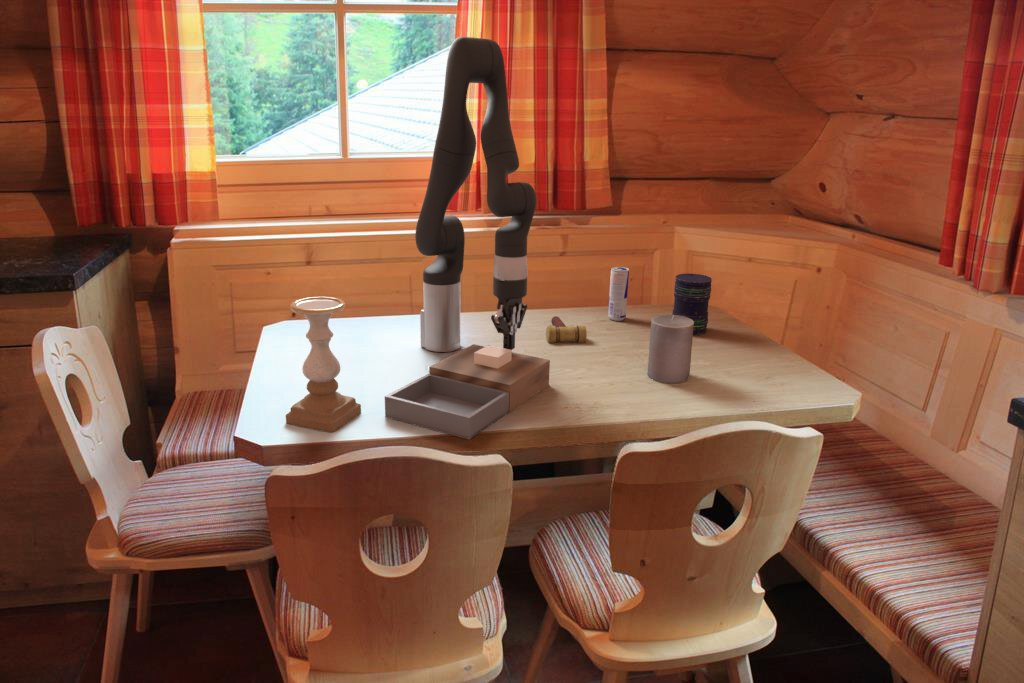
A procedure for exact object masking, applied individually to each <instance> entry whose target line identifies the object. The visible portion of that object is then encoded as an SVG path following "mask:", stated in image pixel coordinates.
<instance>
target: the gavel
mask: <svg viewBox="0 0 1024 683" xmlns="http://www.w3.org/2000/svg"><path fill="white" fill-rule="evenodd" d="M550 322H551V324H552V325H547V326H546V329H545V340H546V341H547V343H548V344H550V343H551V344H555V343H556V342H558V343H559V342H560V343H568V342H571V343H572V342H573V343H574V342H577V343H585V342H587V336H588V335H587V327H586V325H585V324H580V325H579V324H578V325H576V326H566V324H565V323H564V322H563V321H562V319H561V318H560V317H559V316H556V315H555V316H553V317H552V318H551V321H550Z"/></svg>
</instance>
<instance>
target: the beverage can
mask: <svg viewBox="0 0 1024 683" xmlns="http://www.w3.org/2000/svg"><path fill="white" fill-rule="evenodd" d="M610 269H611V270H610V276H609V277H610V278H609V279H610V280H609V295H608V298H609V299H608V310H607V311H608V312H607V317H608V318H609V319H610V320H611V321H616V322H620V321H624V319H625V318H626V317H627V307H628V306H627V303H628V289H629V276H630V272H629V271H630V268H628V267H624V266H613V267H611V268H610Z"/></svg>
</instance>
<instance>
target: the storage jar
mask: <svg viewBox="0 0 1024 683" xmlns="http://www.w3.org/2000/svg"><path fill="white" fill-rule="evenodd" d="M712 281H713V279H712V277H710V276H708V275H704V274H699V273H679V274H677V275H675V281H674V282H675V283H674V288H673V290H674V291H673V297H674V302H673V309H672V314H671V315H678V316H684V317H687V318H690V319H691V320H693V321H694V327H693V337H694V336H695V337H696V336H697V337H698V336H702V335H705V334H706V333H707V328H708V323H709V303H710V299H711V292H712Z"/></svg>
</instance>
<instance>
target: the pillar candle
mask: <svg viewBox="0 0 1024 683" xmlns="http://www.w3.org/2000/svg"><path fill="white" fill-rule="evenodd" d="M650 322H651V323H650V335H649V348H648V360H647V361H648V362H647V373H646V374H647V377H648V378H649V379H650V380H652V379H653V380H652V381H656V382H657V381H658V382H659V383H661V382H662V384H682V383H685V382H687V381H688V380H689V378H690V375H691V374H690V373H691V363H692V362H691V361H692V350H693V337H694V336H693V327H694V321H693V320H691V319H690V318H687V317H684V316H678V315H672V314H659V315H656V316H653V317H652V318H651V321H650ZM681 382H682V383H681Z"/></svg>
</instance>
